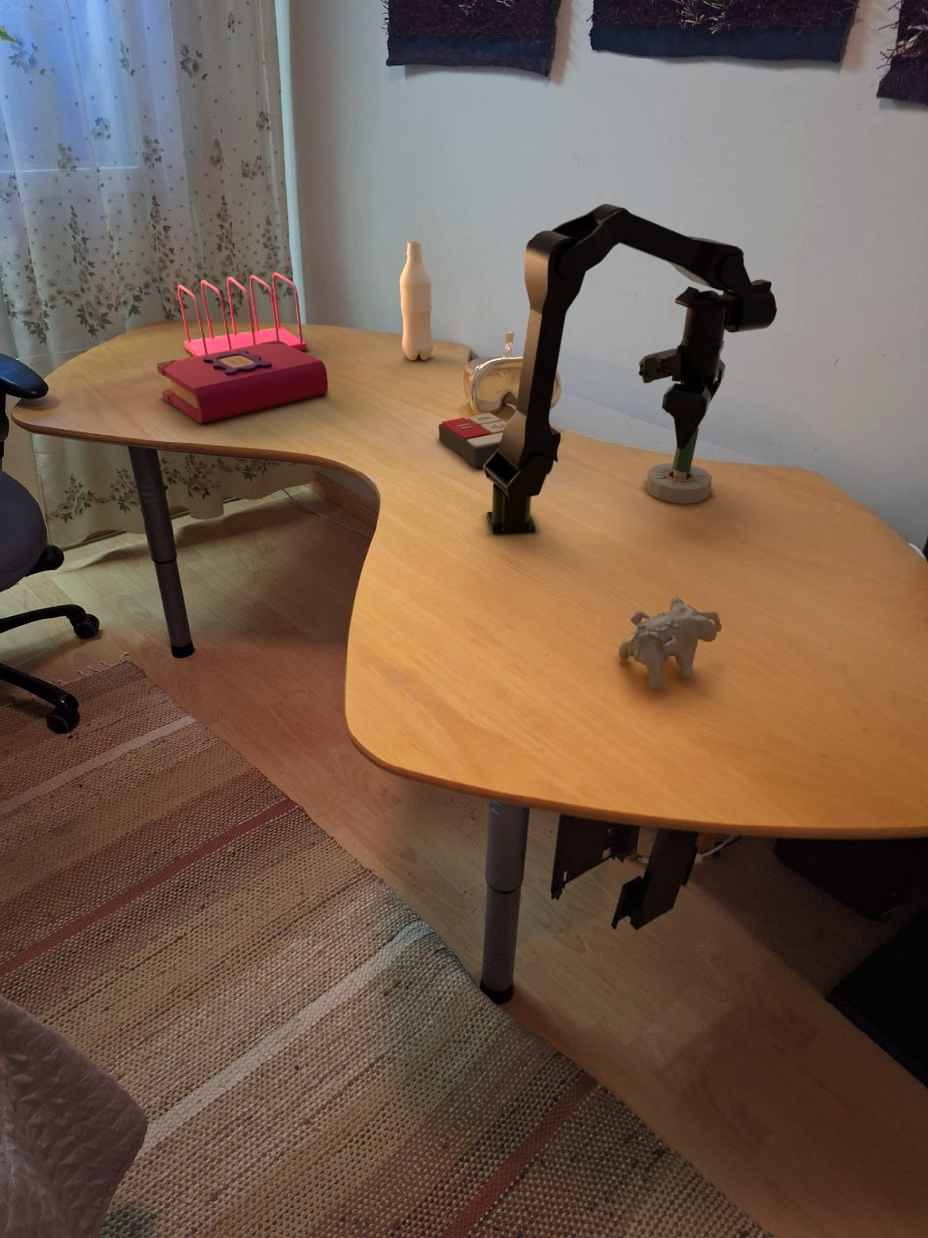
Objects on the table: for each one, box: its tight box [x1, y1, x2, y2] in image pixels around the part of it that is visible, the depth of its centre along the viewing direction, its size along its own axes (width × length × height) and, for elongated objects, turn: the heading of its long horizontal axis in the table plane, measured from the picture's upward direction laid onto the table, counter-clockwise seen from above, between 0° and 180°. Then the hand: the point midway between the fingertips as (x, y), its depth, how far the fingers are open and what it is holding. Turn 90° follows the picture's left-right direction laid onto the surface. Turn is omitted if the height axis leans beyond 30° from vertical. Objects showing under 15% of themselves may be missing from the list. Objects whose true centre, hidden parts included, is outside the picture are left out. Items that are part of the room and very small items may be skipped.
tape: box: [645, 462, 713, 505], centre depth 129 cm, size 10×10×3 cm
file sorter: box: [177, 272, 308, 357], centre depth 190 cm, size 17×25×16 cm
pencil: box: [672, 427, 700, 480], centre depth 128 cm, size 2×3×12 cm
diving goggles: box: [463, 331, 562, 415], centre depth 157 cm, size 18×11×14 cm, turn 101°
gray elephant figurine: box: [618, 593, 723, 691], centre depth 90 cm, size 9×12×8 cm
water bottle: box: [399, 240, 434, 361], centre depth 182 cm, size 7×7×25 cm
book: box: [155, 340, 329, 425], centre depth 165 cm, size 21×28×8 cm
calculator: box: [438, 413, 508, 469], centre depth 143 cm, size 11×4×15 cm
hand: (686, 437), depth 125 cm, fingers open, 9 cm apart
